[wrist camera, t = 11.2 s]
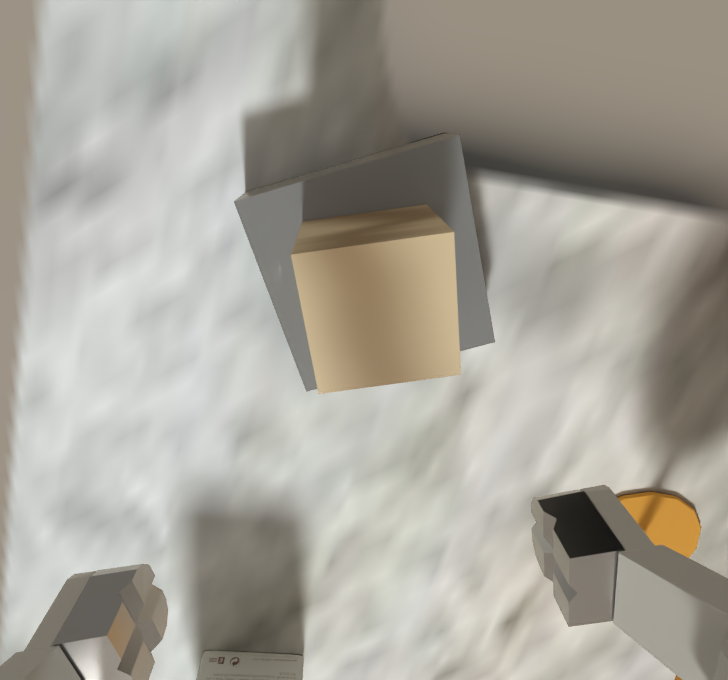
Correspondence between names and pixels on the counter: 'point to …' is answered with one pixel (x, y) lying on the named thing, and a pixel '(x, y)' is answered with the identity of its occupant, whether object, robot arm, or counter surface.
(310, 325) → the maple cube
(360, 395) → the counter surface
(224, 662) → the supplement box
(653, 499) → the cup
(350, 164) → the plate
